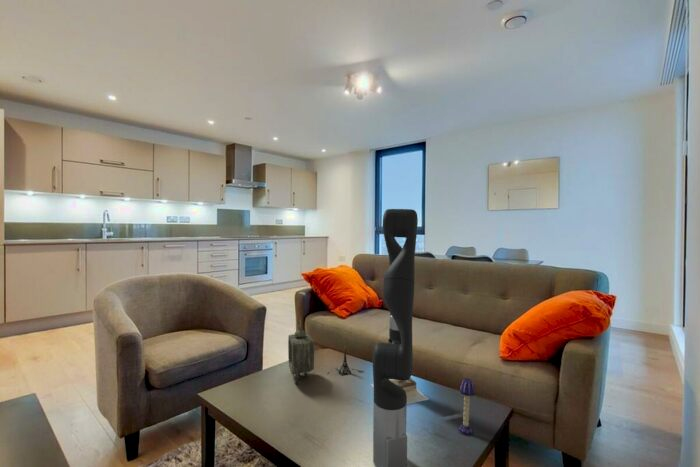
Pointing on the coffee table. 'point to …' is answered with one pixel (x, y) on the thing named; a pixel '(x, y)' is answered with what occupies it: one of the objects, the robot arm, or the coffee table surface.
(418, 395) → the white board
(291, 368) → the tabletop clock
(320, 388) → the coffee table surface
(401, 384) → the wooden tray
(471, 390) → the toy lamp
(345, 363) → the eiffel tower figurine
